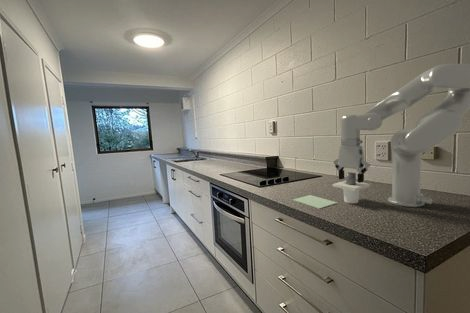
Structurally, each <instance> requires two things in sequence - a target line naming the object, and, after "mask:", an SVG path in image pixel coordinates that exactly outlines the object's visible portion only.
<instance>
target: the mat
mask: <svg viewBox="0 0 470 313" xmlns="http://www.w3.org/2000/svg"><path fill="white" fill-rule="evenodd" d="M292 201H294V202H297V203H300V204H302V205H306V206H308V207H312V208H314V209H317V210H320V209H324V208H327V207H330V206H334V205H337V204H338V201H333V200H330V199H325V198H323V197H319V196H315V195H311V194H308V195H305V196H301V197H297V198H294V199H292Z"/></svg>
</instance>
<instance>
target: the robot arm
mask: <svg viewBox="0 0 470 313" xmlns="http://www.w3.org/2000/svg"><path fill="white" fill-rule="evenodd" d="M445 88H446V89H447V95H446V96H445V98H444V99H443V100H441V102H439V103H438V104H437V105H435V106H434V107H433V108H431V109H430V110H428V111H426V112H425V113H424V114H423V115H421V116H420V117H419V118H418V119H417V121H416V127H415V128H406V129H405V128H404V129H399V130H398V131H396V132H395V133H394V134H393V135H392V137H391V139H390V149H391V157H392V158H391V159H392V165H391V166H392V167H391V168H392V169H391V174H392V176H391V181H392V182H391V196H389V197H387V201H388V202H389V203H390V204H393V205H396V206H401V207H408V208H418V207H419V208H420V207H423V206H425V204H429V205H431V204H432V203H433V199H432V198H431V197H425V196H424V193H423V192H421V168H422V167H421V165H422V162H421V154H424V153H426V152H428V151H430V150H432V149H433V148H434V147H436V146H438V145H439V144H441V143H442V142H444V141H445V140H446V139H449V137H452V136H453V135H454V134H455V133H456V132H457V131H458V130H459V129H460V128H461V125H462V124H463V123H462V122H463V120H462V116H464V114H466V113H467V112H468V111H469V110H470V63H444V64H439V65H435V66H434V67H432V68H428V70H426V71H424V72H422V73H420V74H419V75H417V76H416V77H415V78H414V79H412V80H411V81H409V82H407V83H406V84H405V85H404V86H402V87H400V88H399V89H398V90H396V91H394V92H393V93H391V94H390V95H389V96H387V97H386V98H384V99H383V100H382V101H380V102H378V103H377V104H375V105H374V106H372V107H371V108H370V109H368V110H367V111H365V112H364V113H363V114H347V115H343V116H341V118H340V142H341V143H340V146H339V150H338V158H337V159H335V160H333V164H334V167H335V168H336V170H337V171H338V180H344V179H345V170H344V169H353V170H354V169H355V170H356V171H357V172H358V173H357V182H358V183H364V181H365V174H366V172H367V171H369V168H370V166H371V164H370V163H369V162H368V161H366V160H365V154H364V152H365V151H364V149H363V146H362V145H361V144H363V140H361V131H371V132H373V131H376V130H377V129H380V127H381V126H382V125H383V121H384V120H386V119H387V118H389V117H392V116H393V115H396V114H397V113H398V114H399V113H401V112H405V111H406V110H407V109H409V108H412V107H413V106H414V105H416V104H417V103H419V102H420V101H422V100H423V99H425V98H426V97H427V96H429V95H431V94H432V93H434V92H435V91H437V90H440V89H445Z"/></svg>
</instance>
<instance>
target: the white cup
mask: <svg viewBox="0 0 470 313" xmlns="http://www.w3.org/2000/svg"><path fill="white" fill-rule="evenodd" d="M342 193H343V199H344V203H348V204H358V203H359V197H360V190H357V191H352V190H347V189H342Z"/></svg>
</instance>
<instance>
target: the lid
mask: <svg viewBox="0 0 470 313" xmlns="http://www.w3.org/2000/svg"><path fill="white" fill-rule="evenodd" d="M332 187H334V188H339V189H342V190H343V189H347V190H352V191H357V190H359V191H361V190H362V189H363V190H364V189H366V188H367V189H368V188H370V187H371V183H365V182H361V183H358V181H357V174H356V172H345V180H343V181H339V182H336V183H332Z"/></svg>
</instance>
